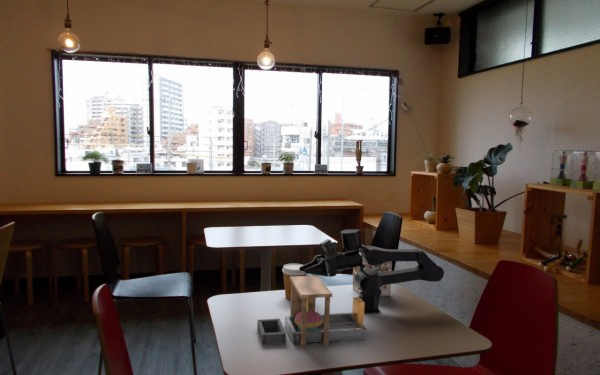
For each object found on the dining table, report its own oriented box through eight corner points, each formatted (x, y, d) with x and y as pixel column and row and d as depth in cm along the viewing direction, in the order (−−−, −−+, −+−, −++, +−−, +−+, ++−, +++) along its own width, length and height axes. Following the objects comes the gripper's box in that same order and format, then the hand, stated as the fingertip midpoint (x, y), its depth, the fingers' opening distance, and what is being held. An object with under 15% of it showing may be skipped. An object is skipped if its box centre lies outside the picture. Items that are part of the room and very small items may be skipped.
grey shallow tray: (353, 321, 143) (354, 292, 142) (367, 338, 130) (369, 307, 129) (285, 325, 138) (286, 295, 137) (293, 343, 125) (294, 311, 124)
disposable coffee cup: (287, 303, 158) (289, 271, 157) (277, 294, 166) (278, 264, 165) (310, 299, 162) (311, 268, 161) (299, 291, 171) (300, 262, 169)
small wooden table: (315, 321, 142) (317, 275, 141) (330, 345, 125) (332, 293, 124) (288, 323, 140) (289, 276, 139) (299, 347, 123) (301, 294, 122)
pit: (279, 327, 136) (279, 318, 136) (285, 343, 126) (285, 333, 125) (257, 329, 135) (257, 319, 134) (261, 345, 124) (262, 335, 124)
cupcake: (290, 330, 135) (291, 292, 134) (314, 326, 138) (315, 290, 137) (300, 341, 127) (302, 302, 126) (326, 337, 130) (328, 299, 129)
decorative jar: (377, 286, 180) (379, 244, 179) (391, 296, 169) (393, 251, 168) (351, 288, 177) (353, 245, 175) (363, 298, 166) (365, 252, 164)
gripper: (333, 237, 160) (292, 246, 157) (348, 238, 141) (302, 247, 138) (339, 267, 159) (298, 276, 156) (354, 271, 141) (308, 281, 138)
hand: (301, 270), depth 147 cm, fingers open, 9 cm apart
